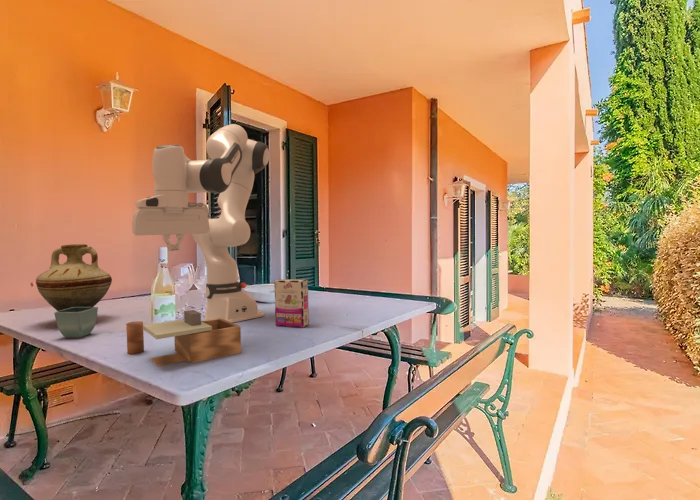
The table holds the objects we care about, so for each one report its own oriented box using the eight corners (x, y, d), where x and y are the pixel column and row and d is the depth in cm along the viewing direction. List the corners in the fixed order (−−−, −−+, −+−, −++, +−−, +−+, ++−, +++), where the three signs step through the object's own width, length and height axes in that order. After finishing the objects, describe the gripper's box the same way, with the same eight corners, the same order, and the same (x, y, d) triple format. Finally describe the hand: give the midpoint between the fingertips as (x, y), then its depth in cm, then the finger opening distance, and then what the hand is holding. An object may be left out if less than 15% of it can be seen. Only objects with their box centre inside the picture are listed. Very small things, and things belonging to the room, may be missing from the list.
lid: (193, 321, 111) (193, 307, 111) (211, 330, 100) (211, 314, 100) (142, 328, 103) (142, 313, 103) (156, 339, 92) (155, 322, 92)
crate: (221, 345, 117) (220, 318, 116) (241, 355, 106) (240, 326, 105) (147, 359, 104) (145, 329, 104) (161, 373, 93) (159, 340, 93)
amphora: (31, 323, 150) (27, 244, 149) (101, 313, 168) (98, 243, 166) (47, 333, 134) (42, 245, 133) (122, 320, 152) (119, 243, 151)
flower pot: (81, 339, 125) (80, 311, 125) (54, 340, 125) (53, 312, 125) (99, 332, 134) (98, 306, 134) (74, 333, 134) (73, 306, 134)
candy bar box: (309, 325, 141) (308, 279, 140) (303, 328, 136) (302, 280, 135) (281, 323, 144) (280, 278, 143) (274, 326, 139) (273, 280, 139)
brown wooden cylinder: (142, 352, 110) (141, 320, 110) (145, 355, 107) (144, 323, 107) (126, 355, 108) (124, 322, 107) (129, 358, 105) (127, 325, 104)
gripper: (204, 203, 121) (206, 248, 122) (129, 201, 108) (132, 252, 108) (211, 202, 116) (213, 249, 117) (134, 200, 103) (137, 253, 104)
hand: (173, 250), depth 113 cm, fingers closed
